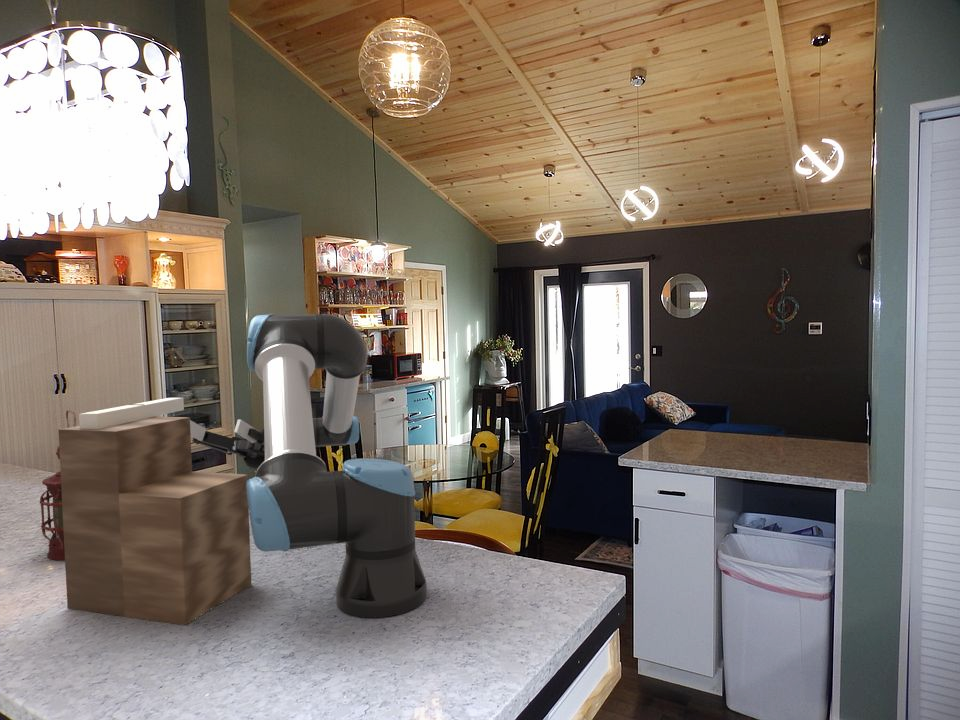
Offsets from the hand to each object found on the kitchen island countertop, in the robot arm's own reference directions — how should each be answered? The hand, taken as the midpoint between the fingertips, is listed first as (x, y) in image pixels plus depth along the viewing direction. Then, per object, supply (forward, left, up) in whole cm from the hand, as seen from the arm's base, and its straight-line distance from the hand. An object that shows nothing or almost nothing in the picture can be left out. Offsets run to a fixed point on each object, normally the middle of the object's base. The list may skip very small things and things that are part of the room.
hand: (209, 424), depth 129 cm
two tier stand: (-20, +10, -26) cm, 35 cm away
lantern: (+15, +25, -27) cm, 40 cm away
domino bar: (-10, +13, +4) cm, 17 cm away
